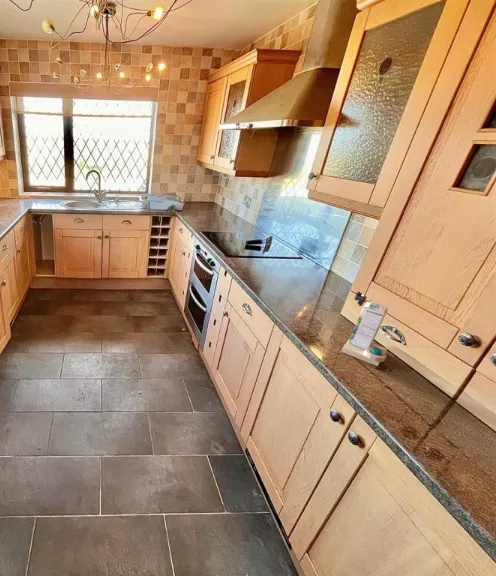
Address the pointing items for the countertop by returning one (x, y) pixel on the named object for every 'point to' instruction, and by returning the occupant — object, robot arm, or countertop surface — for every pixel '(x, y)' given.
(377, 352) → the tare button
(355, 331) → the syrup box
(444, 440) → the countertop surface
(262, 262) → the countertop surface
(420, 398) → the countertop surface
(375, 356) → the scale
